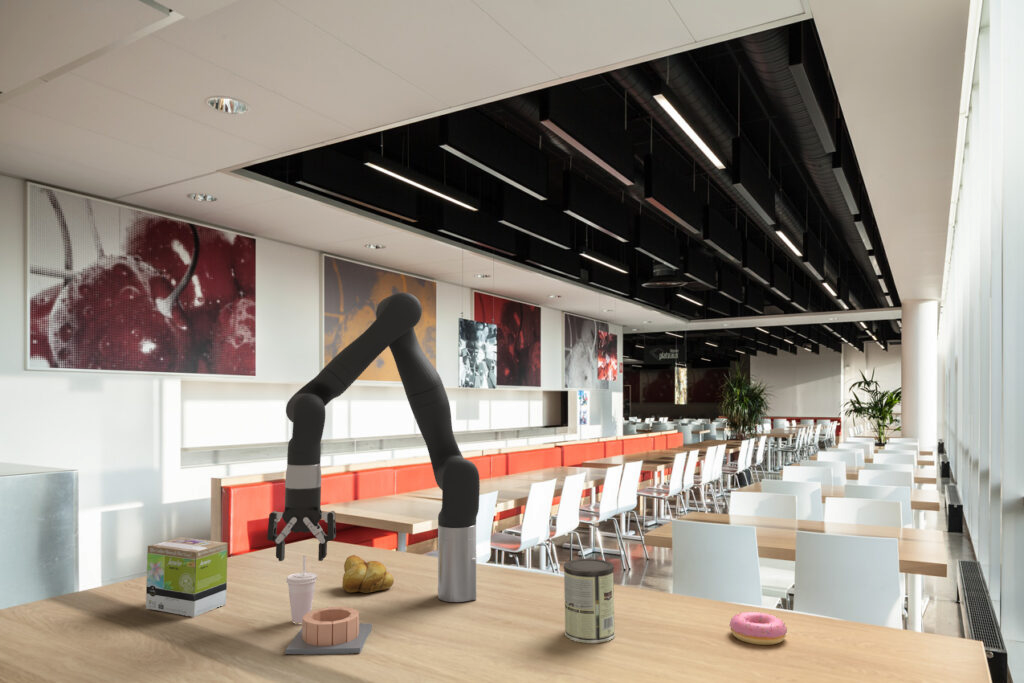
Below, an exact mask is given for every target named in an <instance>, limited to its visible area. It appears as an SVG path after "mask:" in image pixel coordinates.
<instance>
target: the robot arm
mask: <svg viewBox="0 0 1024 683" xmlns="http://www.w3.org/2000/svg"><path fill="white" fill-rule="evenodd" d="M422 313H423V310H422V305H421V301H420V300H419V299H418V298H417V297H416V296H415V295H413V294H412V293H409V292H405V291H404V292H397V293H393V294H391V295H389V296H387V297H385V298H383V299H382V300H381V301H380V302H379V303H378V305H377V307H376V310H375V320H373V323H371V324H370V326H369V327H368V328H367V329H366V330H365V331H364V332H363V333H362V334H360V335H359V336H357V338H356V339H354V340H353V341H352V342H351V343H349V344H347V346H346V347H344V348H342V350H341V351H339V353H337V355H335V356H334V357H333V358H332V359H331V360H330V361H329V362H328V363H327V364H326V365H325V366H324V367H323V368H322V369H321V370H320V372H319V373H318V374H316V376H315V377H314V378H313V379H311V380H310V381H308V382H307V383H306V384H305V385H303V386H302V387H301V388H300V389H299V390H297V391H296V392H295V393H294V394H293V395H292V396H291V398H289V400H288V401H287V404H286V406H285V413H286V417H287V418H288V420H289V421H290V422H292V436H291V439H289V441H288V444H287V445H288V446H287V454H286V455H287V456H286V457H287V459H286V460H287V461H286V471H285V480H284V487H285V488H284V510H283V512H281V511H277V510H274V511H272V512H270V513H269V515H268V523H267V535H266V536H267V537H266V539H267V541H270V542H271V541H272V542H273V543H275V557H276V559H278V562H283V561H284V560H285V557H286V556H285V554H286V553H285V552H286V542H285V539H286V538H287V537H288V535H289V534H290V533H291V532H293V533H294V534H295V533H305V534H306V533H309V532H311V533H312V534H313V536H314V537H315V538H316V539H317V540H318V542H319V543H318V558H317V560H318V562H322V561H324V559H325V558H326V557H327V554H328V553H327V552H328V542H330V541H333V540H335V538H336V537H337V529H336V528H337V526H336V525H337V524H336V523H337V522H336V511H335V510H331V511H328V512H327V511H326V512H323V511H322V510H321V509H322V508H321V504H322V502H321V500H322V499H321V498H322V497H321V496H322V467H321V456H322V455H321V454H322V450H321V449H322V448H321V447H322V446H321V443H322V439H323V435H324V429H325V425H326V424H325V423H326V406H327V405H328V404H329V403H330V402H331V401H333V400H334V399H336V398H338V397H340V396H341V395H343V394H344V393H345V392H346V391H347V390H348V389H349V387H351V386H352V385H353V383H354V382H355V381H356V380H357V379H359V378H360V376H361V375H362V374H363V373H364V371H366V369H367V368H368V367H369V366H370V365H371V364H372V363H373V362H374V361H375V360H376V358H378V357H379V356H380V355H381V354H382V353H383V352H384V351H385V350H387V348H389V350H390V352H391V354H392V356H393V359H394V362H395V366H396V369H397V371H398V375H399V378H400V381H401V384H402V386H403V389H404V392H405V395H406V399H407V401H408V404H409V407H410V409H411V411H412V414H413V416H414V419H415V421H416V424H417V427H418V429H419V431H420V434H421V436H422V437H423V441H424V442H425V445H426V448H427V452H428V455H429V460H430V463H431V467H432V471H433V476H434V480H435V482H436V485H437V486H438V487H439V489H440V490H441V491H442V493H441V494H442V495H441V496H442V497H441V509H440V511H439V513H438V514H437V515H438V516H437V598H438V599H439V600H440V601H443V602H448V603H461V602H462V603H463V602H469V601H475V600H477V516H478V513H479V510H480V509H479V508H480V487H481V486H480V484H481V482H480V474H479V469H478V468H477V466H476V464H475V463H473V462H472V461H471V460H469V459H466V458H464V456H463V454H462V452H461V450H460V448H459V445H458V443H457V441H456V438H455V435H454V431H453V421H452V412H451V406H450V400H449V397H448V394H447V391H446V389H445V386H444V383H443V381H442V378H441V376H440V374H439V373H438V371H437V369H436V368H435V367H434V365H433V364H432V362H431V361H430V359H429V358H428V357H427V356H426V354H425V353H424V350H422V347H421V346H420V344H419V341H418V337H417V335H416V331H415V327H416V326H417V325H418V323H419V322H420V320H421V317H422ZM281 519H282V520H283V521H284V523H285V524H286V525H285V526H284V528H283V529H282V530H281V532H280V533H279V534H277V531H278V530H277V528H278V523H279V522H280V521H281ZM322 519H324V522H325V523H326V524H327V534H326V533H325V531H323V530H324V529H323V528H322V526H321V525H320V521H321V520H322Z"/></svg>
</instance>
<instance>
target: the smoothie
mask: <svg viewBox="0 0 1024 683" xmlns="http://www.w3.org/2000/svg"><path fill="white" fill-rule="evenodd" d="M306 558H307V555H302V572H297V573H292V574H289V575H287V576H286V580H285V582H286V583H287V588H288V595H289V596H288V597H289V605H290V606H289V607H290V614H291V623H292V622H295V623H302V618H303V617H304V615H305V614H307V613H308V612H311V611H313V610H312V608H313V603H314V602H313V600H314V595H315V586H316V581H317V580H318V578H317V577H318V575H317V574H316V573H314V572H307V570H306V567H307V566H306V565H307V564H306V561H307V560H306Z"/></svg>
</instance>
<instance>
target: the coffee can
mask: <svg viewBox="0 0 1024 683" xmlns="http://www.w3.org/2000/svg"><path fill="white" fill-rule="evenodd" d="M562 565H563V570H564V571H563V572H564V573H563V575H564V576H563V577H564V579H563V580H564V582H563V583H564V584H563V585H564V587H563V588H564V636H565V635H566V636H565V637H566V638H567V637H568V638H570V639H571V641H572V640H574V641H573V642H576V641H577V642H576V643H580V642H584V643H583V644H600V643H599V642H604V643H606V642H605V641H607V642H609V640H610V641H612V640H613V639H615V636H616V633H615V593H614V592H615V588H614V586H615V582H614V570H615V565H614V563H612V562H610V561H609V560H604V559H597V558H578V559H577V558H576V559H570V560H567V561H565V562H564V563H563V564H562ZM568 638H567V639H568ZM570 639H569V640H570ZM611 639H612V640H611Z"/></svg>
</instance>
